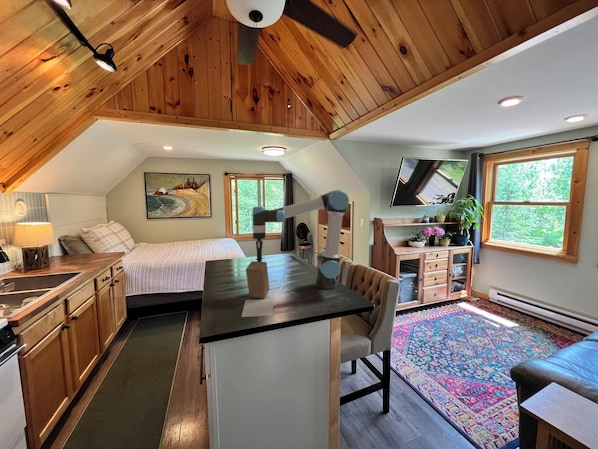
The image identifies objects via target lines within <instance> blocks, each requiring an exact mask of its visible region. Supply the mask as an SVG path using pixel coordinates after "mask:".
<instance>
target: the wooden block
mask: <svg viewBox="0 0 598 449" xmlns="http://www.w3.org/2000/svg"><path fill="white" fill-rule="evenodd" d="M268 272H269V271H268V264H267V261H262V262H257V260H256V261H254V260H252V261H250V263H249V264H248V265H247V267H246V268H245V275H246V281H247V287H248V295H249V297H250V299H251V298H252V299H266V296H268V293H269V291H270V282H269V273H268Z"/></svg>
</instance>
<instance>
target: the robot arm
mask: <svg viewBox="0 0 598 449" xmlns="http://www.w3.org/2000/svg"><path fill="white" fill-rule="evenodd" d="M349 198H350V197H349V195H348V194H347V192H346V191H344V190H340V189H336V190H332V191H329V192H326V193H324V194H322V195H319V197H316V198H312V199H308V200H305V201H302V202H301V201H300V202H297V203H294V204H289V205H287V206H282V207H279V208H274V209H266V207H265V206H254V207H252V227H251V229H252V239H253V240H256V242H255V246H256V259H255V260H256V262H263V259H264V257H263V256H262V255H263V253H262V252H263V250H262V249H263V243H264V241H262V240H263V239H264V240H265V239H266V223H284V222H285V221H286V219H288V218H291V217H296V216H299V215H302V214H306V213H311V212H314V211H317V210H326V212H327V214H328V217H327V218H328V219H327V226H326V236H325V243H324V244H325V245H324V251H321V252H317V254H316V258H317V259H316V260H317V261H316V262H317V263H316V265H317V266H316V273H317V274H316V277H315V279H314V287H316V288H318V289H322V290H328V289H329V290H330V289H331V288H332V289H334V288H337V279H336V277H338V276H339V275H340V273H341V264H340V262H341V256H340V254H339V248H340V242H341V241H340V239H341V233H342V226H343V224H342V223H343V217H344V215H345V214H346V212H347V208H348V205H349V203H350V199H349Z"/></svg>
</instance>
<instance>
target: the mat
mask: <svg viewBox="0 0 598 449" xmlns="http://www.w3.org/2000/svg"><path fill="white" fill-rule="evenodd" d="M268 316H269V317H270V316H271V317H272V316H273V317H274V298H264V299H261V298H256V299H245V302H244V306H243V310H242V313H241V318H249V317H250V318H251V317H253V318H254V317H268Z"/></svg>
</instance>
